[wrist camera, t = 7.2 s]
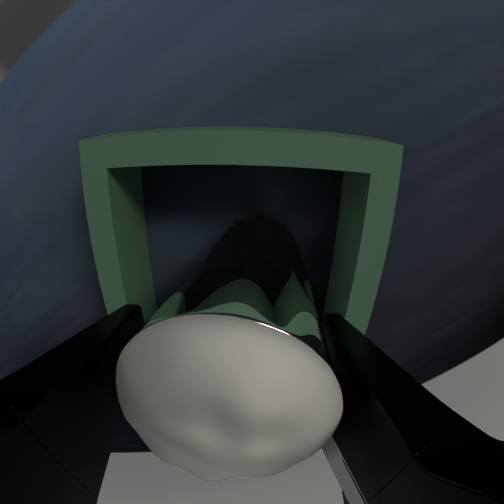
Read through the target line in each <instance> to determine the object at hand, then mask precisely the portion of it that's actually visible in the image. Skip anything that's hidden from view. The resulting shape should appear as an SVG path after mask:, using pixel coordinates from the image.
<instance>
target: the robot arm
mask: <svg viewBox="0 0 504 504" xmlns="http://www.w3.org/2000/svg"><path fill="white" fill-rule="evenodd" d="M144 324H145V323H144V318H143V313H142V309H141V307H140V306H139V305H136V304H125V305H124V306H122V307H120V308H119V309H117V310H115V311H114V312H112V313H110V314H109V315H107V316H105V317H104V318H102V319H101V320H99V321H97V322H96V323H94V324H92V325H91V326H89V327H87V328H86V329H84V330H82V331H81V332H79V333H78V334H76V335H74V336H73V337H71V338H69V339H68V340H66V341H64V342H63V343H61V344H60V345H58V346H56V347H55V348H53V349H52V350H50V351H48V352H47V353H45V354H44V355H42V356H40V358H37V359H35V360H34V361H32V362H31V363H29V364H27V365H26V366H24V367H22V368H21V369H19V370H17V371H16V372H14V373H12V374H10V375H8V376H7V377H5V378H3V379H1V380H0V504H97V500H98V496H99V491H100V488H101V484H102V480H103V477H104V473H105V470H106V467H107V463H108V460H109V456H110V453H111V450H112V446H113V443H114V440H115V437H116V434H117V430H118V427H119V424H120V421H121V418H122V415H123V412H122V409H121V407H120V404H119V399H118V395H117V388H116V368H117V362H118V359H119V356H120V354H121V352H122V350H123V349H124V347H125V346H126V345H127V343H128V342H129V341H130V340H131V339H132V338H133V337H134V336H135V334H136V333H137V332H138V331H139V330H140V329H141V328H142V327H143V325H144ZM322 330H323V333H324V336H325V339H326V342H327V346H328V349H329V352H330V355H331V359H332V362H333V365H334V369H335V372H336V376H337V379H338V383H339V385H340V389H341V392H342V398H343V412H342V416H341V420H340V422H339V424H338V426H337V428H336V430H335V431H334V433H333V434H332V436H333V438H334V439H335V441H336V443H337V445H338V447H339V449H340V451H341V453H342V455H343V457H344V459H345V461H346V463H347V465H348V466H349V468H350V470H351V472H352V474H353V476H354V478H355V480H356V482H357V484H358V485H359V487H360V489H361V491H362V493H363V495H364V497H365V499H366V501H367V503H368V504H504V441H500V440H497V439H495V438H493V437H490V436H489V435H487V434H486V433H484V432H483V431H481V430H480V429H478V428H477V427H476V426H474V425H473V424H472V423H470V422H469V421H467V420H466V419H464V418H463V417H462V416H460V415H459V414H457V413H456V412H455V411H453V410H452V409H451V408H449V407H448V406H447V405H445V404H444V403H443V402H441V401H440V400H439V399H438V398H436V397H435V396H434V395H433V394H432V393H430V392H429V391H428V390H427V389H426V388H424V387H423V386H422V385H421V384H420V383H419V382H417V381H416V380H415V379H414V378H413V377H412V376H411V375H409V374H408V373H407V372H406V371H405V370H404V369H403V368H401V367H400V366H399V365H398V364H397V363H396V362H395V361H393V360H392V359H391V358H390V357H389V356H388V355H386V354H385V353H384V352H383V351H382V350H381V349H380V348H378V347H377V346H376V345H375V344H374V343H373V342H371V341H370V340H369V339H368V338H367V337H366V336H365V335H363V334H362V333H361V332H360V331H359V330H358V329H356V328H355V327H354V326H353V325H352V324H351V323H349V322H348V321H347V320H346V319H345V318H344V317H342V316H341V315H340V314H338V313H326V314H325V315H324V317H323V321H322ZM416 382H417V383H416ZM342 493H343V499H344V504H349V502H348V500H347V498H346V496H345V494H344V492H343V490H342Z"/></svg>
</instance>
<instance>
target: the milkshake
mask: <svg viewBox="0 0 504 504" xmlns="http://www.w3.org/2000/svg"><path fill="white" fill-rule="evenodd" d="M116 388H117V395H118V399H119V404H120V407H121V409H122V412H123V414H124V416H125V418H126V420H127V421H128V422H129V424H130V425H131V426H132V427H133V428H134V429H135V431H136V432H137V433H138V434H139V436H140V437H141V439H142V440H143V441H144V443H145V444H146V445H147V446H148V448H149V449H150V450H151V451H152V452H153V453H154V454H155V455H156V456H157V457H159V458H160V459H161V460H163V461H165V462H167V463H170V464H172V465H175V466H178V467H180V468H182V469H184V470H186V471H188V472H190V473H191V474H193V475H194V476H196V477H198V478H200V479H202V480H206V481H220V480H225V479H230V478H235V477H267V476H271V475H275V474H278V473H280V472H282V471H284V470H286V469H288V468H290V467H292V466H293V465H295V464H297V463H299V462H301V461H303V460H305V459H307V458H308V457H310V456H312V455H313V454H315V453H316V452H317V451H318V450H319V449H320V448H321V447H322V450H323V451H324V454H325V455H326V458H327V460H328V462H329V464H330V466H331V468H332V469H333V472H334V473H335V476H336V478H337V480H338V482H339V484H340V486H341V488H342V490H343V492H344V494H345V496H346V498H347V500H348V502H349V504H368V503H367V501H366V499H365V497H364V495H363V493H362V491H361V489H360V487H359V485H358V484H357V482H356V480H355V478H354V476H353V474H352V472H351V470H350V468H349V466H348V465H347V463H346V461H345V459H344V457H343V455H342V453H341V451H340V449H339V447H338V445H337V443H336V441H335V439H334V438H333V436H332V434H333V433H334V431H335V430H336V428H337V426H338V424H339V422H340V420H341V416H342V412H343V398H342V392H341V389H340V385H339V383H338V379H337V376H336V372H335V369H334V365H333V362H332V359H331V355H330V352H329V349H328V346H327V342H326V339H325V336H324V333H323V330H322V326H321V323H320V320H319V317H318V314H317V310H316V306H315V302H314V299H313V295H312V291H311V287H310V284H309V280H308V277H307V273H306V270H305V266H304V263H303V259H302V256H301V252H300V249H299V246H298V244H297V243H296V241H295V240H294V238H293V236H292V235H291V233H290V232H289V230H288V229H287V227H286V225H285V224H282V223H280V222H277V221H275V220H272V219H269V218H267V217H264V216H262V215H259V216H255V217H251V218H247V219H243V220H239V221H236V222H235V223H234V224H233V225H232V226H231V228H230V229H229V230H228V231H227V233H226V234H225V235H224V236H223V237H222V239H221V240H220V241H219V242H218V243H217V245H216V246H215V247H214V248H213V250H212V251H211V252H210V253H209V254H208V256H207V257H206V258H205V259H204V260H203V262H202V263H201V264H200V265H199V266H198V267H197V268H196V269H195V270H194V272H193V273H192V274H191V275H190V276H189V277H188V278H187V279H186V280H185V281H184V282H183V283H182V284H181V285H180V286H179V287H178V288H177V289H176V290H175V291H174V292H173V293H172V294H171V295H170V297H169V298H168V299H167V300H166V301H165V302H164V303H163V304H162V305H161V306H160V308H159V309H158V310H157V311H156V312H155V313H154V314H153V315H152V316H151V318H150V319H149V320H148V321H147V322H146V323H145V324H144V325H143V327H142V328H141V329H140V330H139V331H138V332H137V333H136V334H135V336H134V337H133V338H132V339H131V340H130V341H129V342H128V343H127V345H126V346H125V347H124V349H123V350H122V352H121V354H120V356H119V359H118V362H117V368H116Z"/></svg>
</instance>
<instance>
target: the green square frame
mask: <svg viewBox="0 0 504 504" xmlns="http://www.w3.org/2000/svg"><path fill="white" fill-rule="evenodd" d="M79 149H80V163H81V174H82V183H83V192H84V200H85V207H86V214H87V221H88V227H89V233H90V238H91V244H92V249H93V254H94V259H95V264H96V269H97V273H98V278H99V282H100V286H101V290H102V294H103V298H104V302H105V306H106V310H107V314H108V315H109V314H110V313H112V312H114V311H115V310H117V309H119V308H120V307H122V306H124V305H125V304H136V305H139V306H140V307H141V309H142V313H143V318H144V323H146V322H147V321H148V320H149V319H150V318H151V316H152V315H153V314H154V313H155V312H156V311H157V304H156V298H155V292H154V285H153V278H152V271H151V264H150V257H149V249H148V240H147V231H146V221H145V211H144V199H143V186H142V171H141V166H159V165H258V166H282V167H300V168H315V169H328V170H340V171H344V172H343V182H342V192H341V200H340V209H339V217H338V224H337V232H336V239H335V246H334V253H333V259H332V266H331V272H330V278H329V284H328V290H327V295H326V301H325V306H324V312H323V317H324V315H325V314H326V313H338V314H340V315H341V316H342V317H344V318H345V319H346V320H347V321H348V322H349V323H351V324H352V325H353V326H354V327H355V328H356V329H358V330H359V331H360V332H361V333H362V334H363V335H365V333H366V329H367V326H368V323H369V319H370V316H371V312H372V309H373V305H374V301H375V298H376V294H377V290H378V286H379V282H380V278H381V274H382V270H383V266H384V261H385V257H386V252H387V248H388V243H389V238H390V233H391V228H392V223H393V217H394V211H395V206H396V200H397V193H398V187H399V180H400V172H401V164H402V156H403V145H400V144H396V143H393V142H389V141H385V140H381V139H377V138H373V137H368V136H361V135H353V134H345V133H336V132H326V131H315V130H303V129H288V128H269V127H180V128H161V129H147V130H135V131H124V132H116V133H111V134H106V135H101V136H96V137H91V138H87V139H82V140H79ZM323 317H322V321H323ZM321 326H322V322H321Z"/></svg>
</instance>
